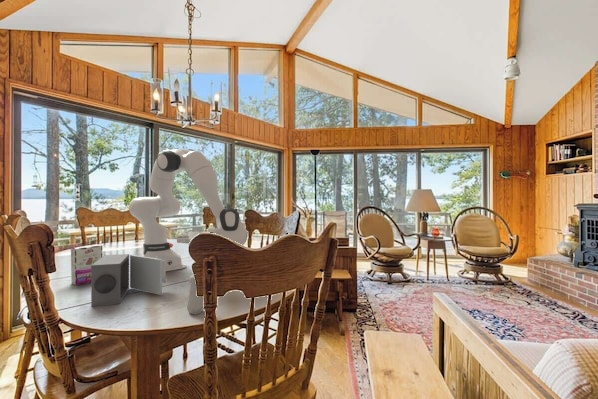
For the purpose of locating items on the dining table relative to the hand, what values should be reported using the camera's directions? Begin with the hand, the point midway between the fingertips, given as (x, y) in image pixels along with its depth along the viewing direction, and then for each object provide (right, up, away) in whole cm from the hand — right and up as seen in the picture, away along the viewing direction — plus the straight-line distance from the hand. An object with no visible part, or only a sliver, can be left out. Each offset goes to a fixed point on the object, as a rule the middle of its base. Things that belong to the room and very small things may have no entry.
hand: (177, 239), depth 127 cm
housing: (-22, -21, -10) cm, 32 cm away
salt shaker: (+16, -23, -24) cm, 37 cm away
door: (-11, -21, -2) cm, 24 cm away
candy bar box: (-45, -21, +9) cm, 50 cm away
